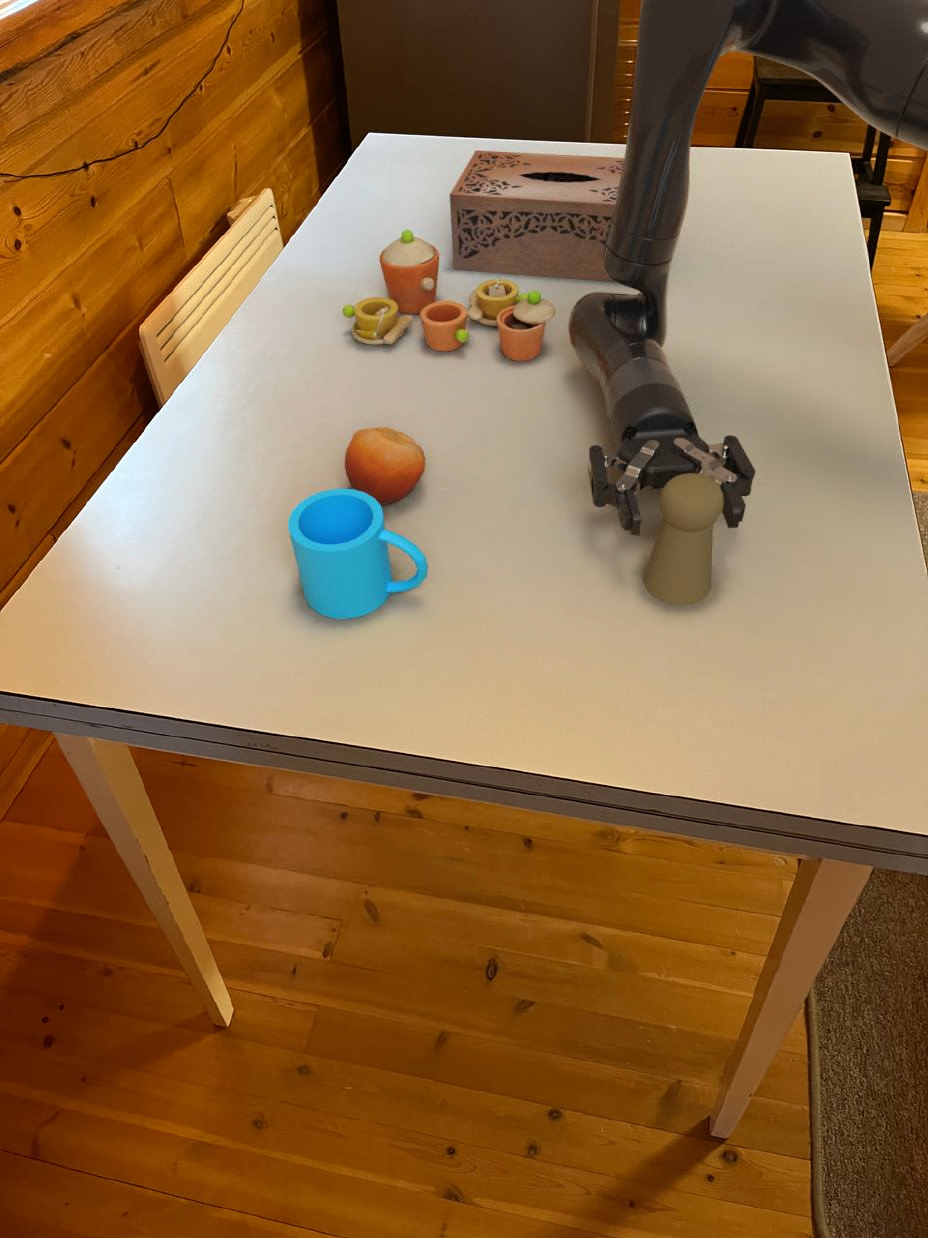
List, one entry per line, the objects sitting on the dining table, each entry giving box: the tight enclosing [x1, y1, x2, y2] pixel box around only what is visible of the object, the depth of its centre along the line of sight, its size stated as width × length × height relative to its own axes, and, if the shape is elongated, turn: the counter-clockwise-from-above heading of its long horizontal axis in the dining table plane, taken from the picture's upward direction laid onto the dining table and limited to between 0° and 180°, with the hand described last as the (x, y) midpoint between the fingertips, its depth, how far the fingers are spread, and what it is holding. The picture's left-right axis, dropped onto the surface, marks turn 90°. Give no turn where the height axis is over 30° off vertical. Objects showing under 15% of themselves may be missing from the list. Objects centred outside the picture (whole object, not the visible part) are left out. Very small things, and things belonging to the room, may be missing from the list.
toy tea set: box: [342, 229, 557, 362], centre depth 112 cm, size 26×16×10 cm, turn 72°
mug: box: [287, 488, 429, 620], centre depth 82 cm, size 12×8×8 cm
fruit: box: [344, 426, 426, 506], centre depth 92 cm, size 8×8×8 cm
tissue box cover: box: [449, 150, 624, 283], centre depth 124 cm, size 26×14×10 cm, turn 76°
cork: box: [643, 473, 724, 606], centre depth 80 cm, size 6×6×11 cm
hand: (686, 524), depth 79 cm, fingers open, 8 cm apart
